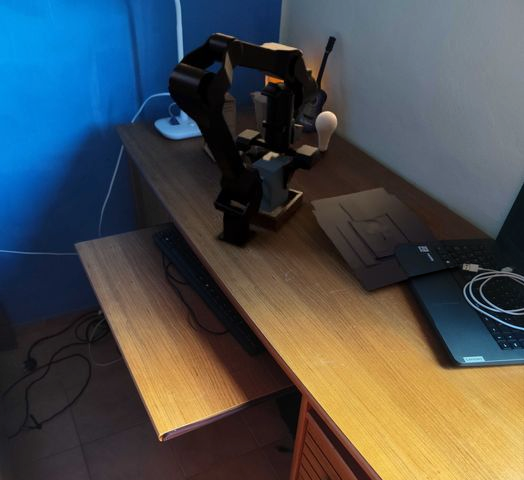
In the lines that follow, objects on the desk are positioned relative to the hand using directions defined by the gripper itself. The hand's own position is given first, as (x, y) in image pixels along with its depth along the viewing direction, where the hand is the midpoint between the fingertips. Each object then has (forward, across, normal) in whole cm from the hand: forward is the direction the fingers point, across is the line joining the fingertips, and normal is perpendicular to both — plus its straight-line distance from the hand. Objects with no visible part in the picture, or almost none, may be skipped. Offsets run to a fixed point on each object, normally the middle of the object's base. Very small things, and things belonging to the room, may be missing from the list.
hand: (274, 185), depth 109 cm
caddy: (+7, 0, 0) cm, 7 cm away
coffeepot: (+7, +15, -28) cm, 33 cm away
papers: (+7, -26, -2) cm, 27 cm away
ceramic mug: (+7, +16, -16) cm, 24 cm away
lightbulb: (+7, +3, -38) cm, 39 cm away
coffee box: (+7, +27, -19) cm, 34 cm away
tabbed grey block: (+4, 0, +2) cm, 4 cm away
